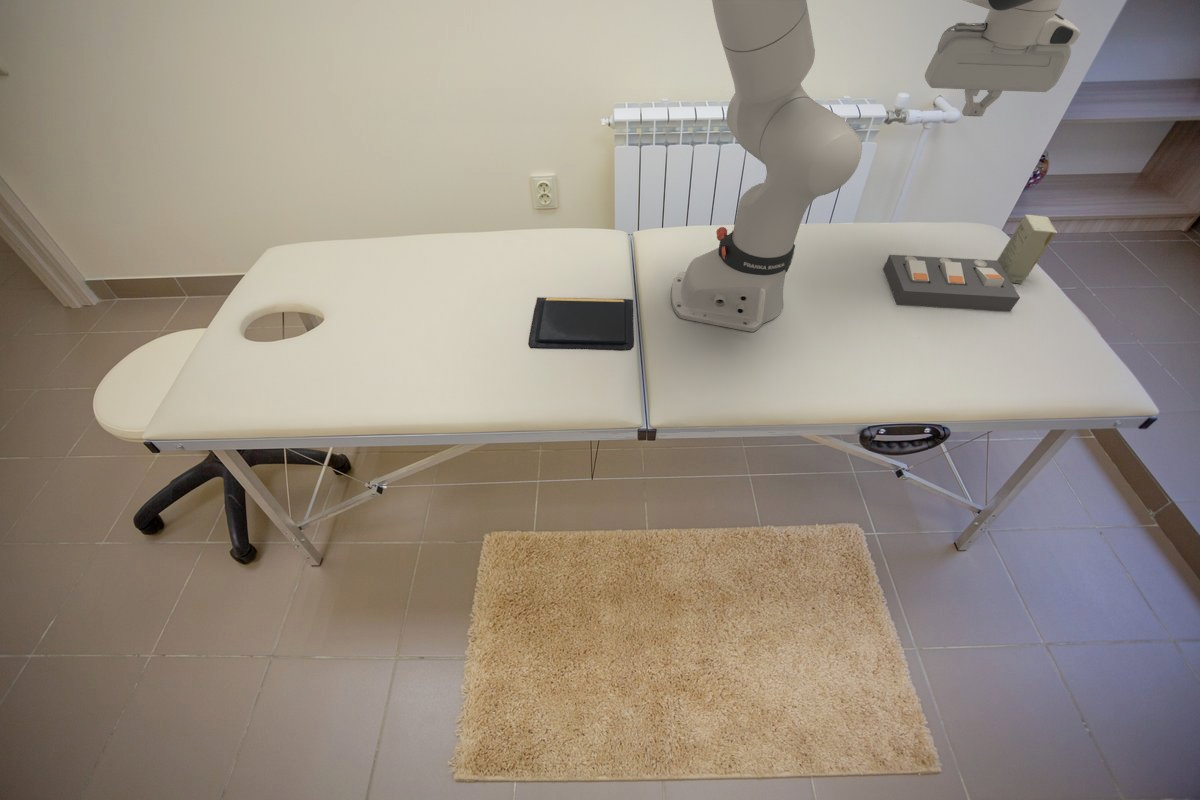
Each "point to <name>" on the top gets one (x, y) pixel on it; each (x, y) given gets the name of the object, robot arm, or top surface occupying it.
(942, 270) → the rocker middle
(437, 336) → the top surface
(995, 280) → the rocker right
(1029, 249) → the skincare box
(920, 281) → the rocker left
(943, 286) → the switch panel
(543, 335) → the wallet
